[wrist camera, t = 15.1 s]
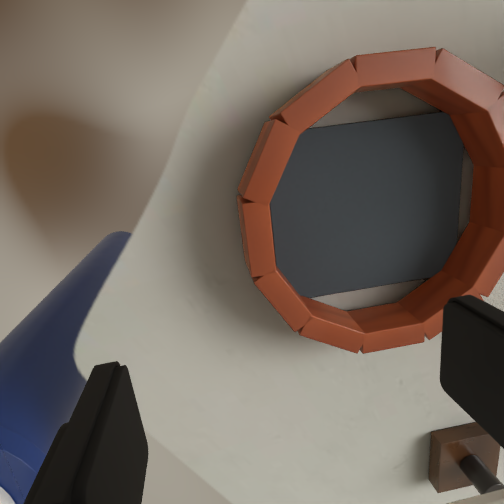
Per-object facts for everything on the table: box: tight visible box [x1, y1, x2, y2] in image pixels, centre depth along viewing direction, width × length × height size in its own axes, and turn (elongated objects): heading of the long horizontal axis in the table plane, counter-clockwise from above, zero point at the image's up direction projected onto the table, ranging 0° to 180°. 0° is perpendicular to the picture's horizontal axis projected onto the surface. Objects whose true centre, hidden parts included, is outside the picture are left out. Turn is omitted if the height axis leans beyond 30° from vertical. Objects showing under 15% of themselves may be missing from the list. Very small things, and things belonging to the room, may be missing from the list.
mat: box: [269, 112, 464, 298], centre depth 25 cm, size 14×12×1 cm
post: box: [429, 422, 504, 495], centre depth 32 cm, size 6×6×4 cm
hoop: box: [237, 47, 504, 354], centre depth 23 cm, size 19×19×3 cm
